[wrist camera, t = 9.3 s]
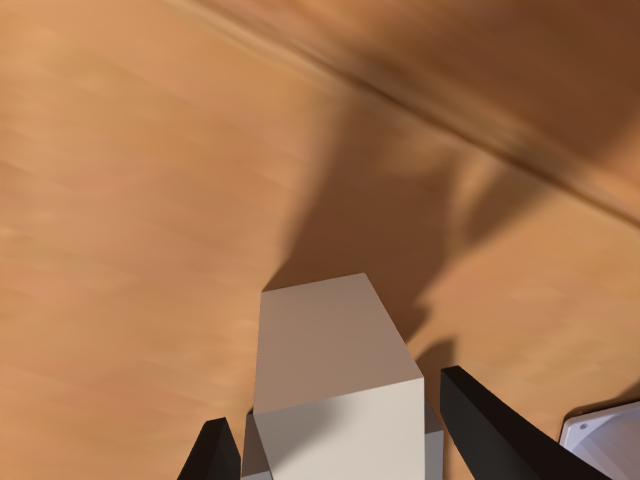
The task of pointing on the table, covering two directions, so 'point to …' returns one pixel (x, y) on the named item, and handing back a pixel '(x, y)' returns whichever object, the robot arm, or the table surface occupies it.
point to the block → (336, 386)
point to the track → (260, 476)
